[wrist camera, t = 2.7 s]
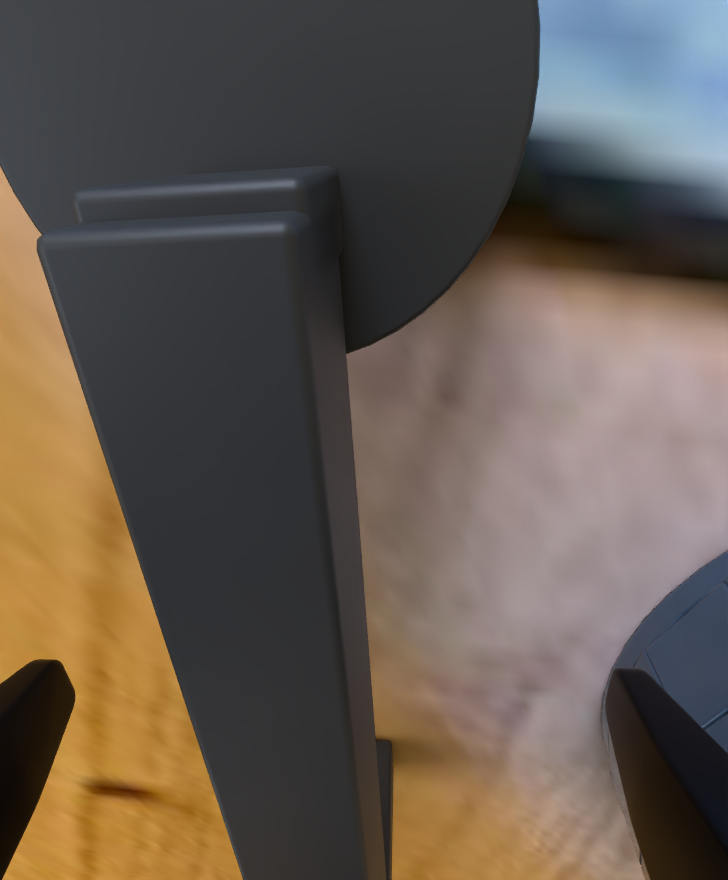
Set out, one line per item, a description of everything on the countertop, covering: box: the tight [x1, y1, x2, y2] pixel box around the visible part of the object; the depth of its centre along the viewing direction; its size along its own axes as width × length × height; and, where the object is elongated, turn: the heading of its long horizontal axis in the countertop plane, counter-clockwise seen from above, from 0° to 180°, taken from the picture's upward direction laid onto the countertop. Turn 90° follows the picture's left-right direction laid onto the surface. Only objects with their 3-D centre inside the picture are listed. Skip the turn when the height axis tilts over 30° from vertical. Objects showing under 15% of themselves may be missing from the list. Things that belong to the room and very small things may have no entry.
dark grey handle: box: [0, 0, 540, 880], centre depth 8 cm, size 18×5×6 cm, turn 3°
